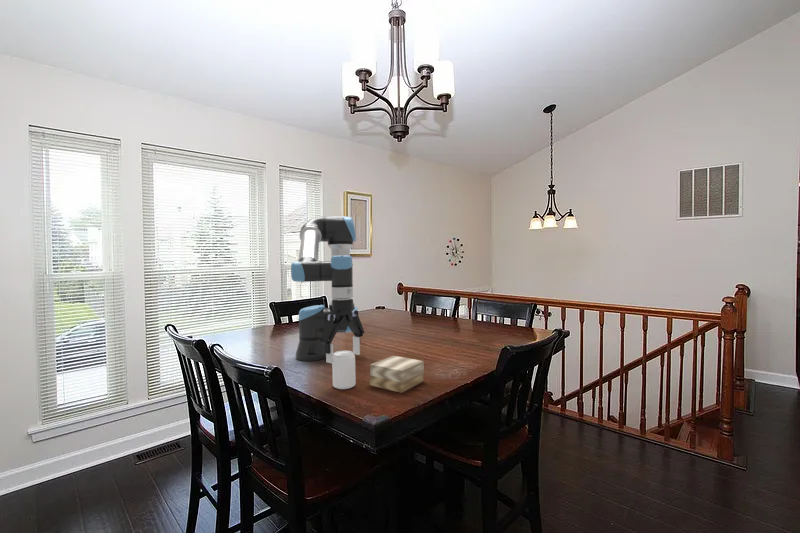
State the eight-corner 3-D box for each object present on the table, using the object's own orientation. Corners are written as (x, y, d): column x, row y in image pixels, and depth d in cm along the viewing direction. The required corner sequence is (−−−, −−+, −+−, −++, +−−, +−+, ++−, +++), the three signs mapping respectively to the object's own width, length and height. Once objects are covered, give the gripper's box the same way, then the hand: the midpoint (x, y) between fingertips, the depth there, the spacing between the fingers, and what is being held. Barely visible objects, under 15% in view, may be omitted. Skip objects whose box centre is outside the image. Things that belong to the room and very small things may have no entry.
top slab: (370, 375, 139) (370, 364, 139) (393, 365, 150) (393, 355, 150) (401, 382, 131) (401, 370, 131) (423, 371, 142) (423, 361, 142)
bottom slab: (369, 386, 139) (369, 375, 139) (392, 375, 151) (392, 365, 151) (401, 394, 131) (401, 382, 131) (423, 382, 143) (423, 371, 142)
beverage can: (333, 382, 142) (333, 350, 142) (355, 382, 143) (355, 349, 142) (331, 390, 134) (331, 356, 134) (355, 389, 135) (354, 355, 134)
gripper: (323, 303, 125) (325, 368, 125) (373, 296, 145) (374, 352, 146) (308, 301, 129) (309, 364, 130) (358, 295, 150) (359, 349, 150)
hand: (343, 358), depth 138 cm, fingers open, 13 cm apart
